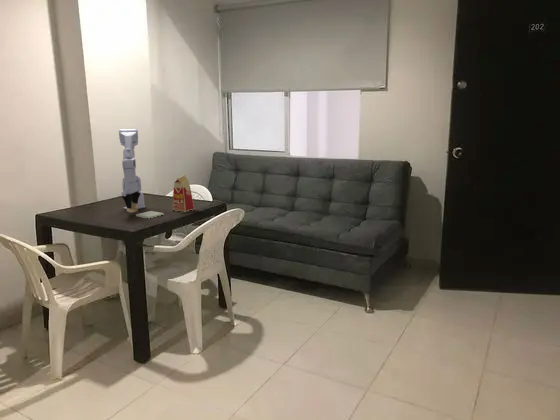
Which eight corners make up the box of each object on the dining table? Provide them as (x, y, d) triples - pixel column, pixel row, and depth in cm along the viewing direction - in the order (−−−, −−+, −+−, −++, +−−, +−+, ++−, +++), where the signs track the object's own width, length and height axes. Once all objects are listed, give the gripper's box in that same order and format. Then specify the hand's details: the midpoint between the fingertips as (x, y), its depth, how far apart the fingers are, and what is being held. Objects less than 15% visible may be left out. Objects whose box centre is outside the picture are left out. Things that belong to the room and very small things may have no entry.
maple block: (133, 210, 249) (132, 202, 249) (138, 211, 247) (137, 203, 246) (126, 211, 246) (126, 204, 245) (131, 212, 244) (131, 205, 243)
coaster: (151, 212, 252) (151, 210, 252) (164, 215, 247) (163, 213, 246) (136, 216, 244) (136, 214, 244) (149, 218, 239) (149, 216, 238)
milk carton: (182, 207, 264) (181, 172, 260) (195, 209, 260) (193, 174, 255) (171, 211, 257) (169, 174, 252) (183, 212, 252) (182, 176, 248)
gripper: (131, 179, 251) (132, 203, 254) (115, 183, 237) (117, 209, 240) (142, 179, 249) (144, 204, 252) (127, 184, 236) (129, 210, 239)
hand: (132, 207), depth 246 cm, fingers closed on maple block, 5 cm apart
